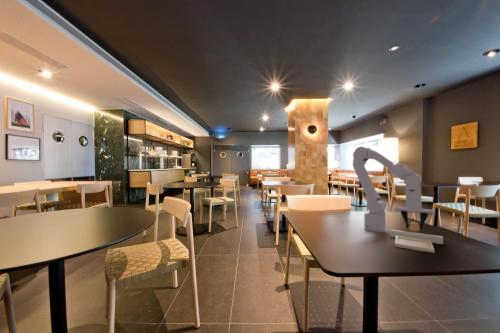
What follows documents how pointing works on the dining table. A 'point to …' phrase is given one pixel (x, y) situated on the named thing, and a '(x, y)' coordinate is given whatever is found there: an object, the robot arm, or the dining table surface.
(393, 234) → the low wall
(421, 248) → the tray
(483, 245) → the dining table surface
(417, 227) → the ball
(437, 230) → the dining table surface
